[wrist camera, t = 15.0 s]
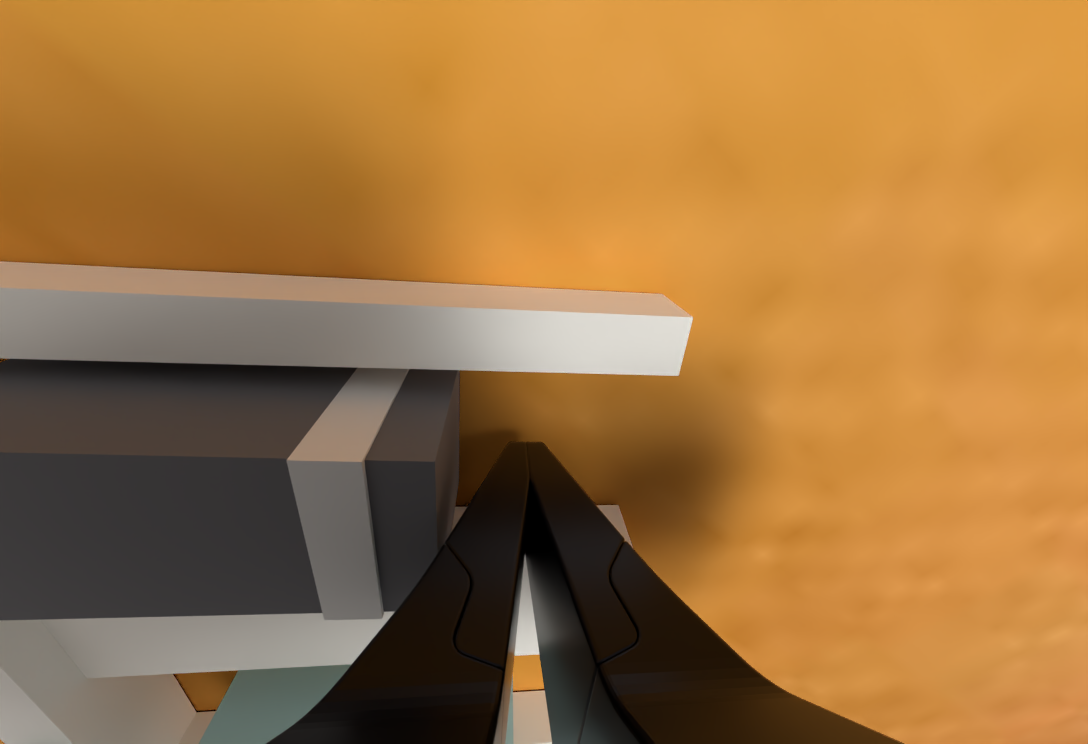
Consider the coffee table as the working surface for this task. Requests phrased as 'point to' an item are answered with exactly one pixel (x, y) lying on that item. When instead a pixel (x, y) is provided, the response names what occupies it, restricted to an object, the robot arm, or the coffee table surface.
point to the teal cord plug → (278, 703)
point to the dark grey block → (221, 487)
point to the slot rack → (283, 340)
